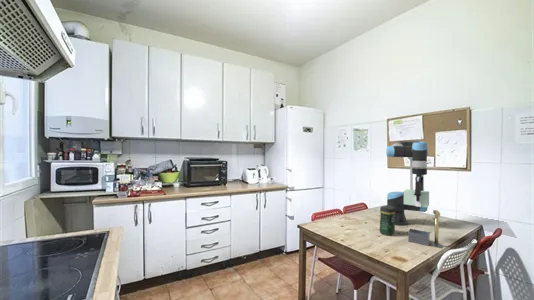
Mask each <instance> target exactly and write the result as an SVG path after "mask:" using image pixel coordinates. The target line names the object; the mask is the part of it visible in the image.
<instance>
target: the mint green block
mask: <svg viewBox="0 0 534 300" xmlns="http://www.w3.org/2000/svg"><path fill="white" fill-rule="evenodd" d="M403 192H404V204H406V205H413V206H415V195H414V194H415V190H410V189H408V188H406V189H405V190H403ZM420 196H421V207H428V208H429V206H430V191H427V190H424V191H421V195H420Z"/></svg>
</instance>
